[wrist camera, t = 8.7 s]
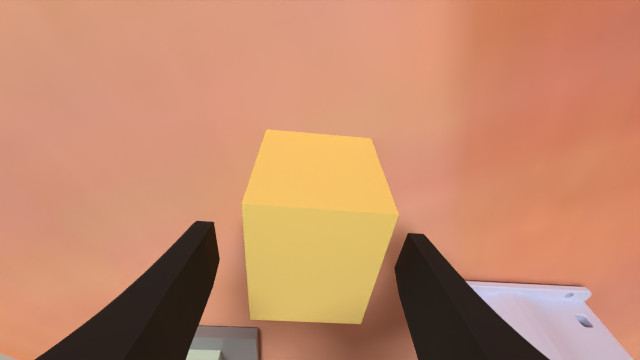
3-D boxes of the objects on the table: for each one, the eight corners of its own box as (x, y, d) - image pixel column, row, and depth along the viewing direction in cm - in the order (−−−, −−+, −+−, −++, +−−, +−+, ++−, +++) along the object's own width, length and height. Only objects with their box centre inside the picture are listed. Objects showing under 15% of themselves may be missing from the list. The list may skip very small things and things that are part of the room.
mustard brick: (370, 137, 12) (399, 214, 8) (348, 234, 16) (360, 324, 12) (266, 128, 12) (241, 203, 8) (267, 229, 15) (250, 319, 11)
